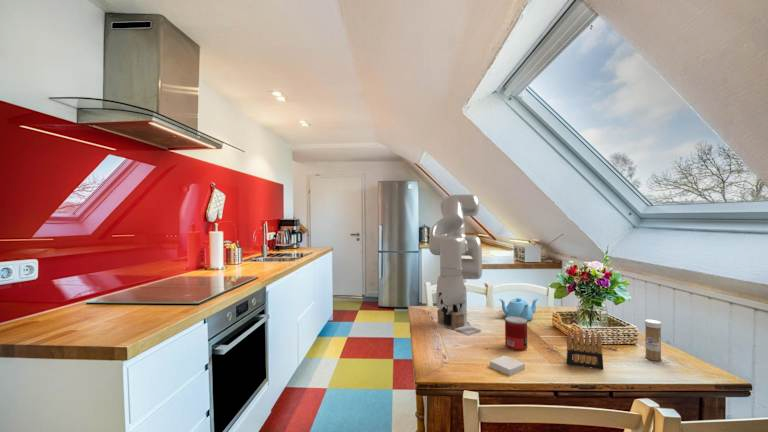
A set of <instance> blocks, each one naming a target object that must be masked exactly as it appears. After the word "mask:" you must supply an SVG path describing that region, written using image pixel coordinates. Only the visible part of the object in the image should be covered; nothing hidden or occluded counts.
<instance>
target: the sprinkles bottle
mask: <svg viewBox="0 0 768 432" xmlns="http://www.w3.org/2000/svg"><path fill="white" fill-rule="evenodd" d="M644 326H645V339H644V342H645V343H644V344H645V347H644V348H645V356H644V357H645V358H646V359H648V360H651V361H656V362H660V361H662V334H661V332H662V331H661V330H662V329H661V328H662V322H661V321H659V320H656V319H655V320H654V319H645V320H644Z"/></svg>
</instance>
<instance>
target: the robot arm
mask: <svg viewBox="0 0 768 432" xmlns="http://www.w3.org/2000/svg"><path fill="white" fill-rule="evenodd" d="M479 210H480V201H479V198H478V196H476V194H475V195H474V194H453V195H452V194H451V195H449V196H447V197H446V198H445V199H443V200H441V202H440V212H441V215H442V218H440V219H439V220H438V221H436V223H434V225H433V226H432V228H431V230H430V234H429V240H428V250H429V252H430V254H431V255H433V256H439V276H437V283H436V291H435V300H436V308H437V309H440V310H441V311H442V313H444V324H445V325H448V326H451V314H450V310H451V311H455V312H458V313H462V314H464V326H470V327H471V322H469V321H468V315H467V312H468V311H467V303H468V302H467V300H468V299H467V298H468V297H467V295H468V294H467V287H466V285H465V283H464V280H479V279H481V278H482V275H483V256H482V255H483V254H482V253H483V252H482V242H481V238H480V237H478V236H477V235H466V232H465V231H466V226H465V223H464V222H465V219H464V218H465V217H476V216H477V215H478V213H479ZM445 234H446V235H445ZM462 256H464V257H466V256H467V257H471V258H462ZM444 327H445V328H446V329H452V330H454V329H453V328H450V327H447V326H444Z"/></svg>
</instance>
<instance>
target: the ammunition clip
mask: <svg viewBox="0 0 768 432" xmlns="http://www.w3.org/2000/svg"><path fill="white" fill-rule="evenodd" d="M578 335H579V338H578ZM590 336H591V337H590ZM572 338H573V339H572ZM578 339H579V340H578ZM603 358H604V357H603V345H602V335H601V333H600V332H598V333H597V336H595V332H594V331H592V332H591V335H589V332H588V330H586V332H585V336H584V333H583V331H582V330H580V331H579V334H578V333H577V329H575V330H574V331H573V337H572V332H571V329H568V331H567V339H566V365H568V366H575V367H582V366H584V367H583V368H589V367H592V368H591V369H596V368H598V369H599V370H604V360H603ZM598 369H597V370H598Z"/></svg>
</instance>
